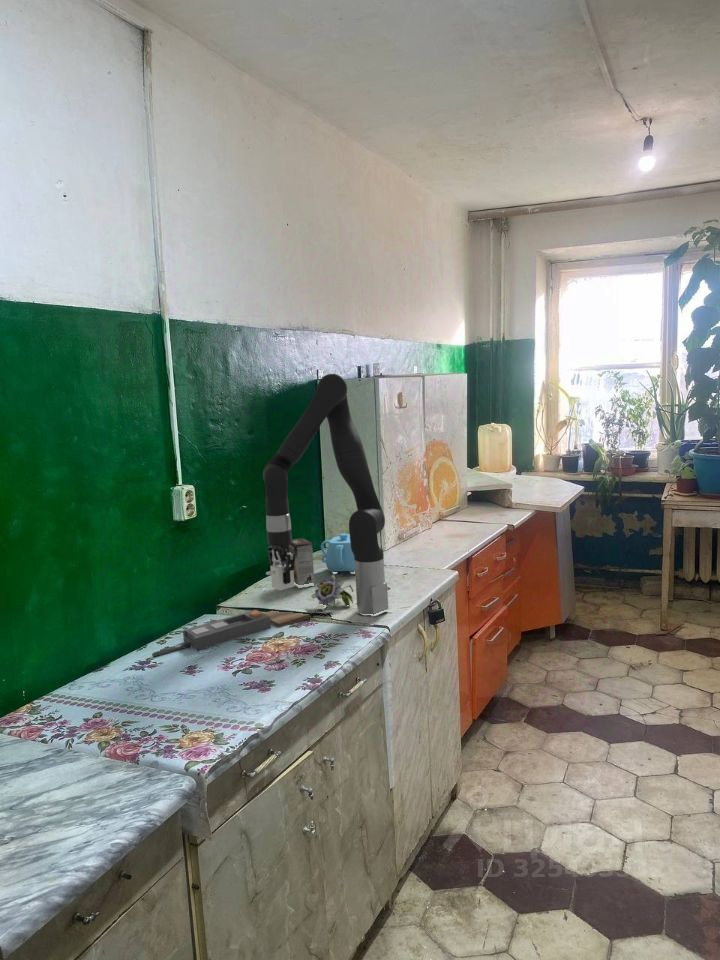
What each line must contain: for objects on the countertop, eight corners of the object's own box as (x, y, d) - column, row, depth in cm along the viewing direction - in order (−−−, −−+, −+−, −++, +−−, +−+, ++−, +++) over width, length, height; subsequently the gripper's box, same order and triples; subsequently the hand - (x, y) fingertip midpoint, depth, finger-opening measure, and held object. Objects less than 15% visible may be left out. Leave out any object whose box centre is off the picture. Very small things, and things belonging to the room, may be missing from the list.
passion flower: (327, 624, 222) (303, 596, 221) (340, 607, 231) (318, 580, 231) (350, 609, 216) (326, 580, 216) (363, 592, 225) (340, 564, 225)
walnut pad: (312, 616, 214) (312, 613, 214) (279, 627, 207) (278, 623, 207) (292, 607, 224) (292, 604, 224) (259, 617, 217) (259, 614, 217)
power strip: (270, 627, 207) (269, 614, 207) (158, 662, 187) (156, 647, 186) (256, 620, 214) (255, 607, 214) (146, 652, 194) (145, 638, 193)
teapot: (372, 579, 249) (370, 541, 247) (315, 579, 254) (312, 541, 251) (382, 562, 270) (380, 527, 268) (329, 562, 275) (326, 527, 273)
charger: (294, 586, 214) (293, 564, 213) (271, 592, 209) (269, 570, 208) (287, 583, 218) (285, 561, 216) (264, 589, 213) (262, 567, 212)
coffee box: (290, 582, 251) (286, 540, 249) (306, 579, 254) (303, 537, 251) (298, 589, 243) (295, 545, 240) (315, 586, 245) (312, 542, 243)
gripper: (301, 529, 208) (305, 583, 210) (277, 522, 219) (281, 574, 222) (279, 534, 203) (284, 589, 206) (257, 526, 215) (261, 579, 217)
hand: (282, 581), depth 214 cm, fingers closed on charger, 4 cm apart
